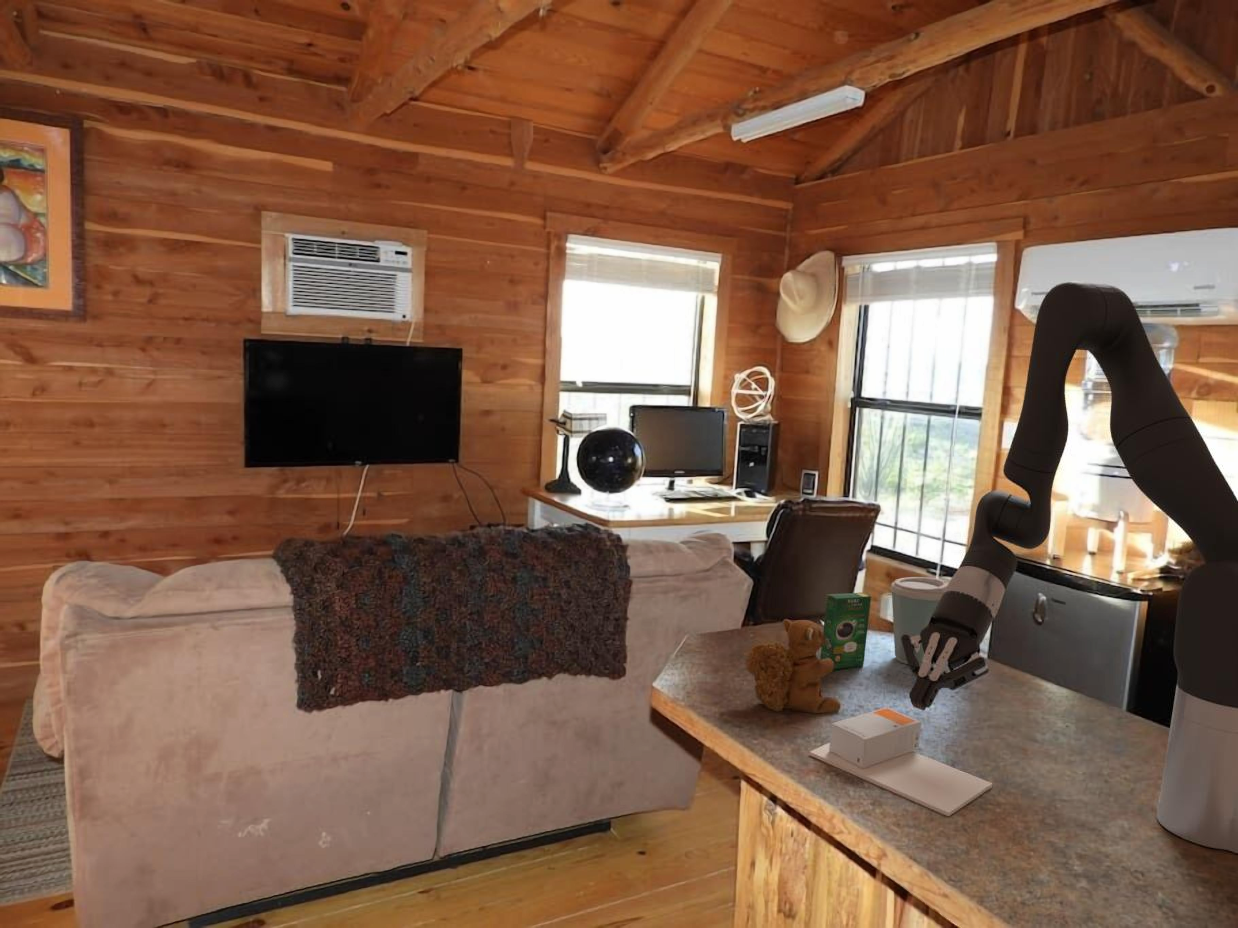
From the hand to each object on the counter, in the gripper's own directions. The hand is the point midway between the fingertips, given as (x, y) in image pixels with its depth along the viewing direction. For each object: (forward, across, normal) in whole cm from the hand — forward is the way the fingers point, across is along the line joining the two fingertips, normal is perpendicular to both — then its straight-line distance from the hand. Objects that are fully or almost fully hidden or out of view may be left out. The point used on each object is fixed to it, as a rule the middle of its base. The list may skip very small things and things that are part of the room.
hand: (917, 705), depth 123 cm
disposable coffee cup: (-21, -20, +32) cm, 43 cm away
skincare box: (+2, -3, +5) cm, 6 cm away
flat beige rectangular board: (+9, +1, +1) cm, 9 cm away
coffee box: (-11, -26, +22) cm, 36 cm away
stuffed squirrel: (+5, -22, +6) cm, 23 cm away
